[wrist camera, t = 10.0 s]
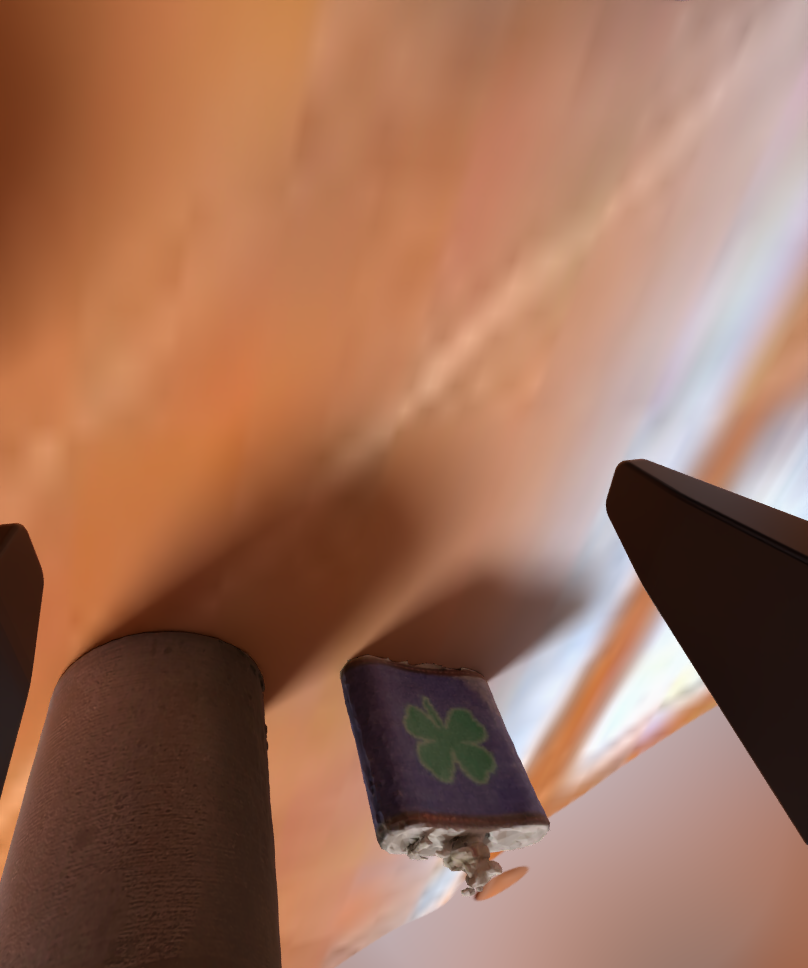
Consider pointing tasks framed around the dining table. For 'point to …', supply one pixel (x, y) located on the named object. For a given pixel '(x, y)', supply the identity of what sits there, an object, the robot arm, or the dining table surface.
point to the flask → (439, 766)
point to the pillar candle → (147, 816)
